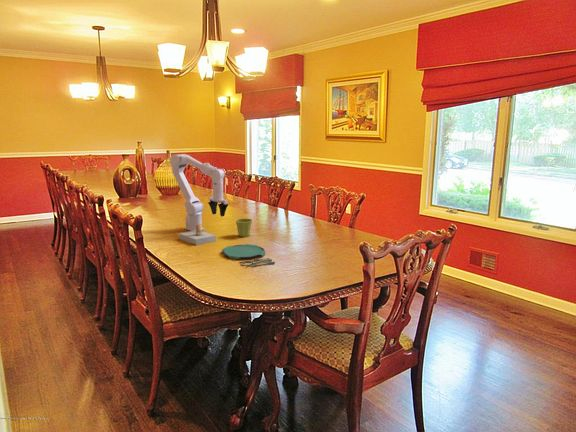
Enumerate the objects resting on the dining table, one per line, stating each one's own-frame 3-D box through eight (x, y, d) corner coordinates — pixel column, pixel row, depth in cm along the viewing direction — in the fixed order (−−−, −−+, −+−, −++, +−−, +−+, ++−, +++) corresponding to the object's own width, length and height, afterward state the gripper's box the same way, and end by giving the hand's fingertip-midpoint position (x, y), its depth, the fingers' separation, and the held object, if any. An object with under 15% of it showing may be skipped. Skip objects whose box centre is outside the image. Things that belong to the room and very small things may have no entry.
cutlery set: (256, 246, 214) (256, 242, 213) (279, 265, 187) (279, 260, 187) (217, 251, 206) (217, 246, 205) (236, 271, 179) (236, 266, 179)
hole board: (179, 239, 224) (179, 233, 224) (198, 235, 233) (198, 229, 232) (196, 245, 213) (196, 239, 213) (216, 241, 222) (215, 235, 221)
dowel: (194, 239, 222) (194, 224, 221) (199, 238, 225) (199, 223, 223) (198, 240, 220) (198, 225, 219) (203, 239, 223) (202, 224, 221)
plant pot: (236, 238, 228) (236, 222, 226) (234, 234, 237) (233, 218, 235) (254, 237, 231) (254, 221, 229) (250, 233, 239) (250, 218, 238)
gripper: (204, 190, 237) (204, 214, 240) (220, 193, 227) (220, 218, 230) (214, 189, 242) (215, 212, 245) (230, 192, 232) (230, 216, 235)
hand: (218, 215), depth 238 cm, fingers open, 7 cm apart
